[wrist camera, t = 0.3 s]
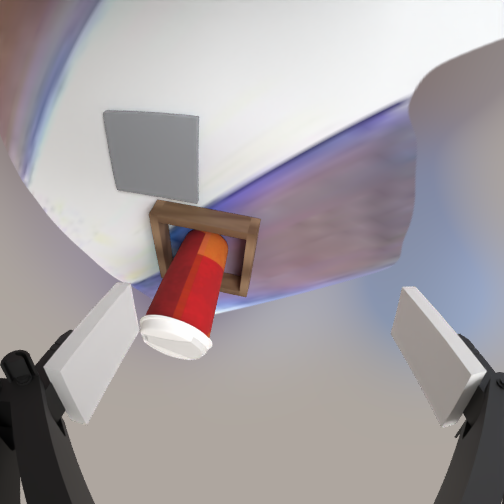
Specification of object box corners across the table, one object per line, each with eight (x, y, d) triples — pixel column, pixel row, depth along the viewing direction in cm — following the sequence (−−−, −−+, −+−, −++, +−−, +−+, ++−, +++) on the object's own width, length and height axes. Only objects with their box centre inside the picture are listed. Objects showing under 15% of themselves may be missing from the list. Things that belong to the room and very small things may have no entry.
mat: (106, 110, 25) (103, 112, 25) (198, 116, 25) (196, 118, 25) (119, 186, 33) (117, 190, 32) (198, 200, 33) (196, 203, 32)
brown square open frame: (157, 199, 33) (148, 214, 32) (260, 219, 33) (256, 235, 31) (167, 264, 43) (161, 277, 41) (249, 282, 42) (246, 297, 40)
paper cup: (178, 256, 41) (142, 349, 32) (176, 215, 35) (128, 318, 26) (234, 270, 41) (208, 368, 32) (241, 230, 35) (209, 341, 26)
